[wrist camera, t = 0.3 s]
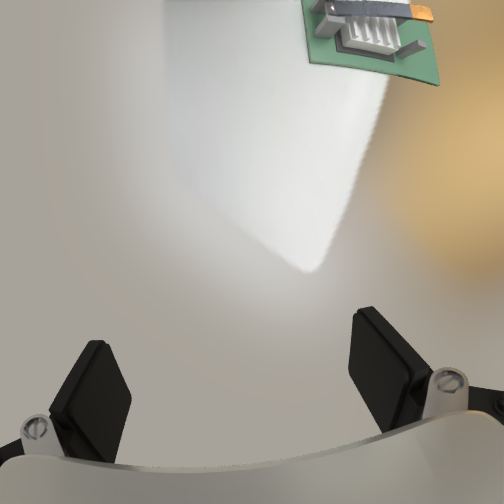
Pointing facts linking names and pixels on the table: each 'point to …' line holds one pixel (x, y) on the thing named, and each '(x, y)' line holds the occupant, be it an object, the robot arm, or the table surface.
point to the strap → (378, 10)
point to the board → (401, 66)
